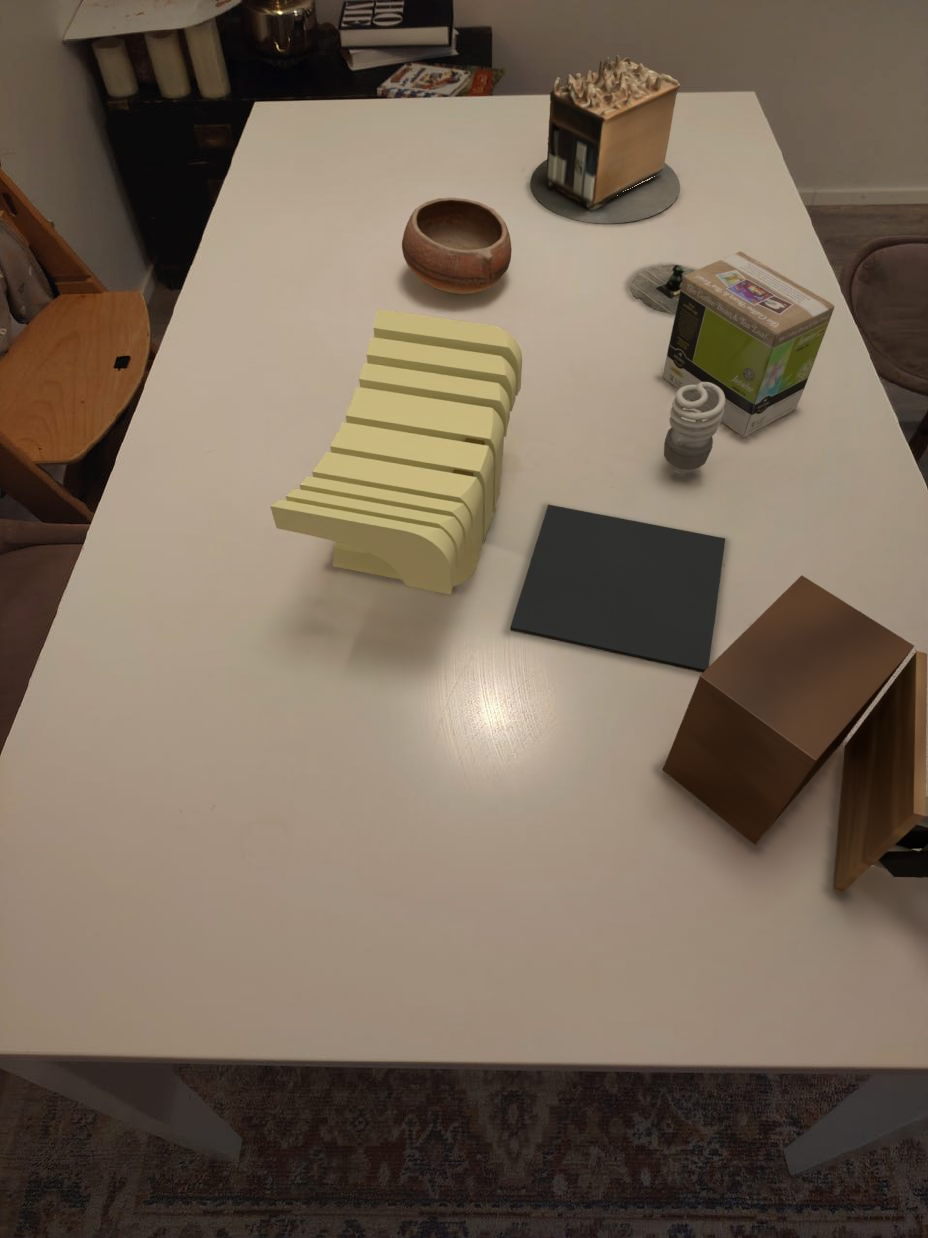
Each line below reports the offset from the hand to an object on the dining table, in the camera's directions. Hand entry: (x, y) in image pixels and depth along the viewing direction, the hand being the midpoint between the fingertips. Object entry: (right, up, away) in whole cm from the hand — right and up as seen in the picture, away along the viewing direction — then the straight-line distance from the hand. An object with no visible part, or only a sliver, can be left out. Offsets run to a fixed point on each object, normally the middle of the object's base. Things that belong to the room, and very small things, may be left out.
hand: (888, 850), depth 66 cm
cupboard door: (+2, +1, +6) cm, 6 cm away
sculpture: (-3, +67, +55) cm, 87 cm away
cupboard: (-7, +6, +10) cm, 14 cm away
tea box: (0, +48, +41) cm, 63 cm away
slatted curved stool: (-39, +28, +27) cm, 55 cm away
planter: (-10, +92, +74) cm, 118 cm away
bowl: (-35, +69, +57) cm, 96 cm away
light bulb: (-8, +36, +33) cm, 49 cm away
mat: (-17, +22, +22) cm, 36 cm away
